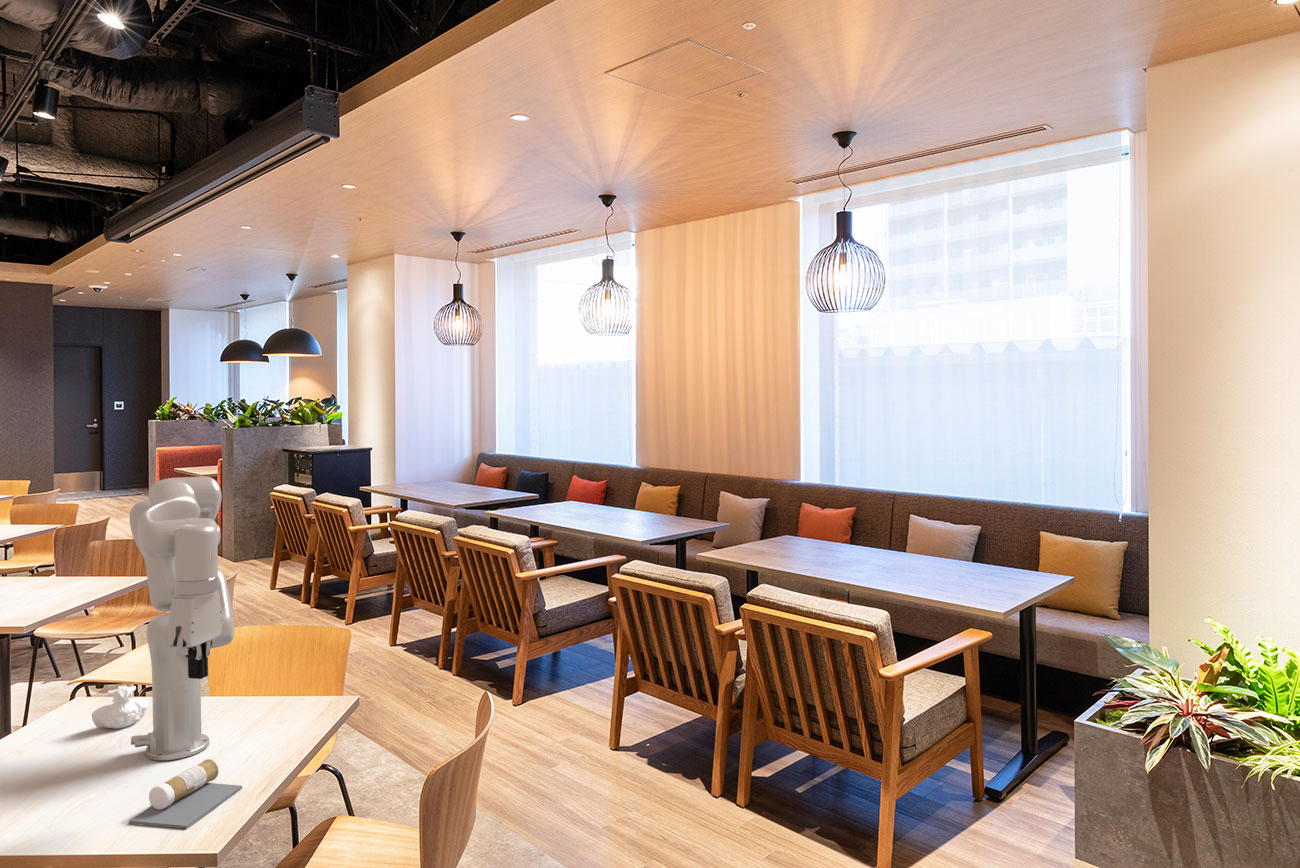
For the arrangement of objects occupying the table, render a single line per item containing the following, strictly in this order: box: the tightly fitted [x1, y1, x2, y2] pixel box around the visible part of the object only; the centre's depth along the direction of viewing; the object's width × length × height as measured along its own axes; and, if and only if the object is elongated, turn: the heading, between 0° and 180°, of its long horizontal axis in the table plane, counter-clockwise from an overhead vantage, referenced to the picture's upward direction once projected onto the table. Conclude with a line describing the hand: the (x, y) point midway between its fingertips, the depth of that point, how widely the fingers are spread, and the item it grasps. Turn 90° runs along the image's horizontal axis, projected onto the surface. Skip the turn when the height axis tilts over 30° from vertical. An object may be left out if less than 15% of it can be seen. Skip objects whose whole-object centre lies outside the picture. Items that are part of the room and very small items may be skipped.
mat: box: [128, 782, 243, 830], centre depth 160 cm, size 16×12×1 cm
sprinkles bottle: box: [148, 758, 219, 810], centre depth 163 cm, size 5×5×14 cm
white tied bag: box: [91, 684, 150, 730], centre depth 198 cm, size 12×8×11 cm
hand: (198, 677), depth 162 cm, fingers closed
